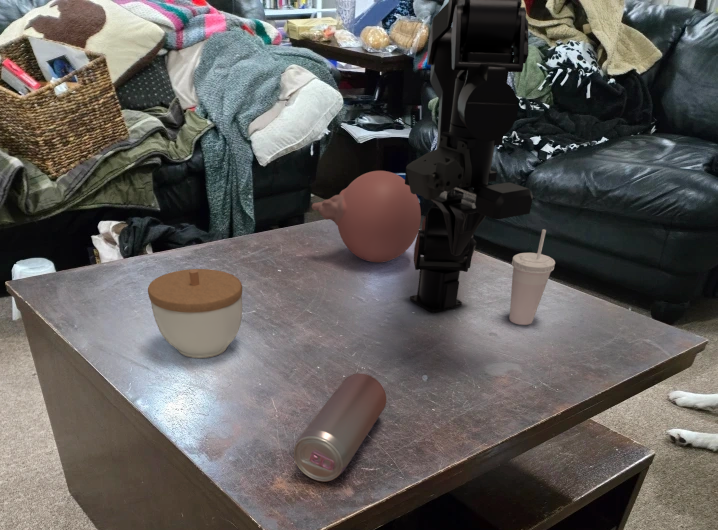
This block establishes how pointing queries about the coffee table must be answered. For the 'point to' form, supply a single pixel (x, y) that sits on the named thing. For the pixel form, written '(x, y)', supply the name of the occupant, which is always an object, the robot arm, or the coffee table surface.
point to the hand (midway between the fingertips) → (455, 254)
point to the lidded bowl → (197, 310)
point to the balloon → (375, 216)
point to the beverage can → (340, 428)
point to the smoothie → (529, 283)
